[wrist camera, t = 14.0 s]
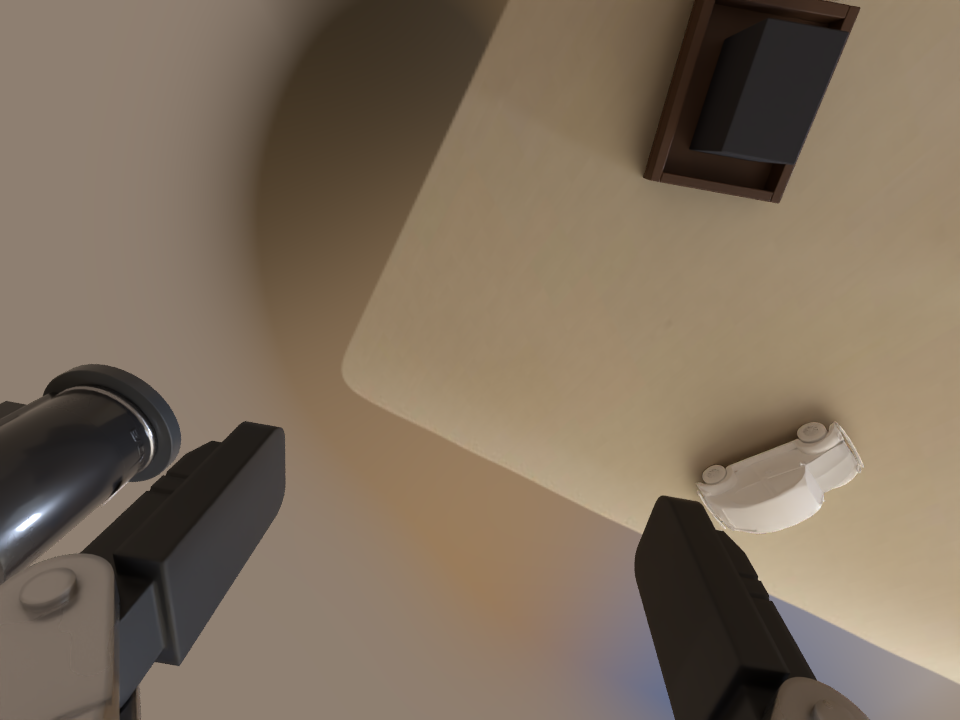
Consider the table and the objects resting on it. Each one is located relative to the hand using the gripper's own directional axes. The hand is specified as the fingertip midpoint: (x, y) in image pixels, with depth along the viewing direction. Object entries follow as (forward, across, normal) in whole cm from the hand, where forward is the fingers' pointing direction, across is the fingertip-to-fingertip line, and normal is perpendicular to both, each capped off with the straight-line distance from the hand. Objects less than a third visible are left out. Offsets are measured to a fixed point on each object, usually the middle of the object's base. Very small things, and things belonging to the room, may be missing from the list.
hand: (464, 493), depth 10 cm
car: (+27, -26, +14) cm, 40 cm away
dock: (+26, -13, -11) cm, 31 cm away
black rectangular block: (+26, -13, -11) cm, 31 cm away
